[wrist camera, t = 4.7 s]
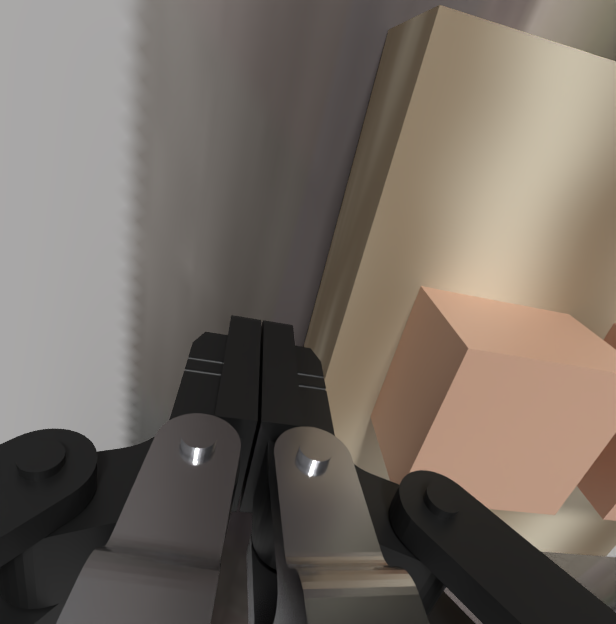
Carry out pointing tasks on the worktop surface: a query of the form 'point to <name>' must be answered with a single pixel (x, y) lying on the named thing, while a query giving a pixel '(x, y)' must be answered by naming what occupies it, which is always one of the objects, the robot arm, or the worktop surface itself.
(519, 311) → the tile
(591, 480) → the tile
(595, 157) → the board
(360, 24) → the worktop surface
